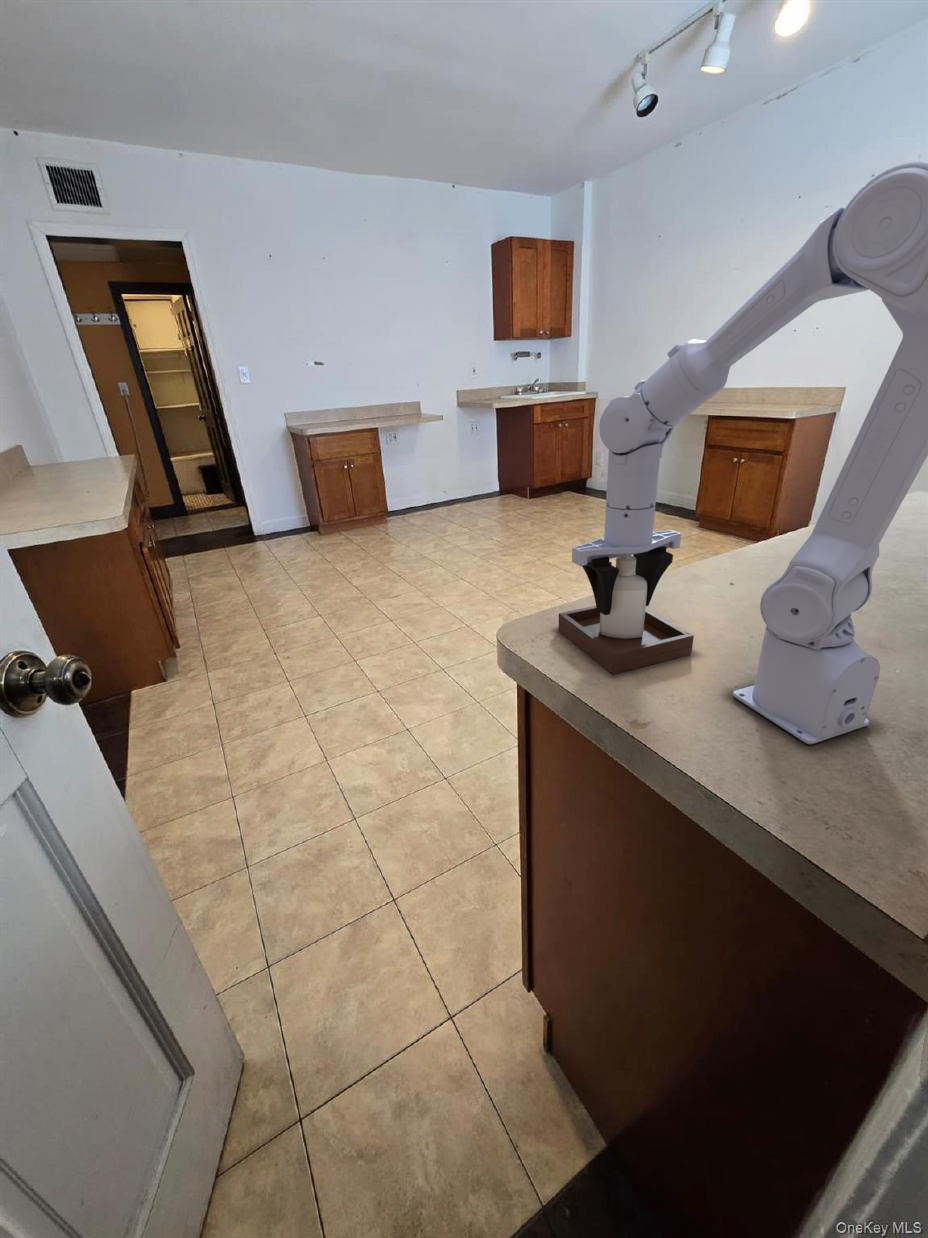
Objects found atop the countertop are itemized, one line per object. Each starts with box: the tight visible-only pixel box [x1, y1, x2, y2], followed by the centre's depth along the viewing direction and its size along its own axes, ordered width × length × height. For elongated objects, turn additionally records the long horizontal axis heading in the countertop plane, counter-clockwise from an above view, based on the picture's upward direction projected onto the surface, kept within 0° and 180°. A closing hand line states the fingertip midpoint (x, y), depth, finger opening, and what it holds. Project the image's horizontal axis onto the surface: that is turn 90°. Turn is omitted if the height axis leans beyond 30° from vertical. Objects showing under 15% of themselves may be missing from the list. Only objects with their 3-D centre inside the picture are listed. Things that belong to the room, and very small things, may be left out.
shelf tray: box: [558, 605, 695, 675], centre depth 69 cm, size 14×12×3 cm
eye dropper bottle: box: [600, 554, 647, 639], centre depth 66 cm, size 4×6×12 cm
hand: (622, 607), depth 67 cm, fingers closed on eye dropper bottle, 5 cm apart
